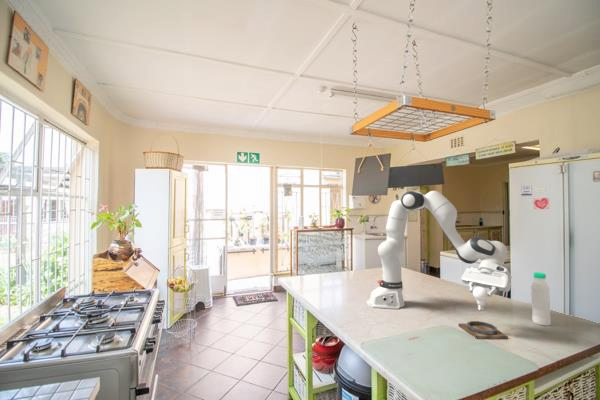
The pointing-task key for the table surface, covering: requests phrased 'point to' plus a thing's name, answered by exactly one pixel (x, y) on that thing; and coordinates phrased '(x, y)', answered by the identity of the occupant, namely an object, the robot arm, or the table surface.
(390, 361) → the table surface
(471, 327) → the collar
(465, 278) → the robot arm
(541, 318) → the water bottle
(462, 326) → the board
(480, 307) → the lightbulb
